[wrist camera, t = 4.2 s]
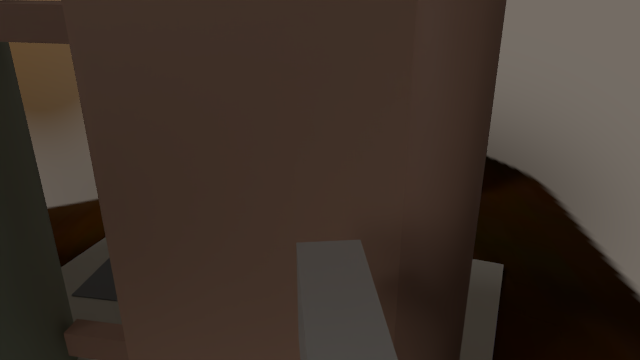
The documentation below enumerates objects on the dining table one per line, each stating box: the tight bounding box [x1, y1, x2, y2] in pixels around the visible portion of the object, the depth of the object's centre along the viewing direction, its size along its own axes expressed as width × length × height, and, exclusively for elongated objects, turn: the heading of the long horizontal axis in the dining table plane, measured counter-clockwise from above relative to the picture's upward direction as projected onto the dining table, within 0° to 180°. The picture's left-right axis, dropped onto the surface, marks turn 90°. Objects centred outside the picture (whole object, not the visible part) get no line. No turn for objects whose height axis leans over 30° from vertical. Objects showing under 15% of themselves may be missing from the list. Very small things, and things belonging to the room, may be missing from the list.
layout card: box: [61, 237, 504, 360], centre depth 22 cm, size 20×18×1 cm
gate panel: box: [0, 0, 506, 360], centre depth 16 cm, size 13×2×15 cm, turn 79°
